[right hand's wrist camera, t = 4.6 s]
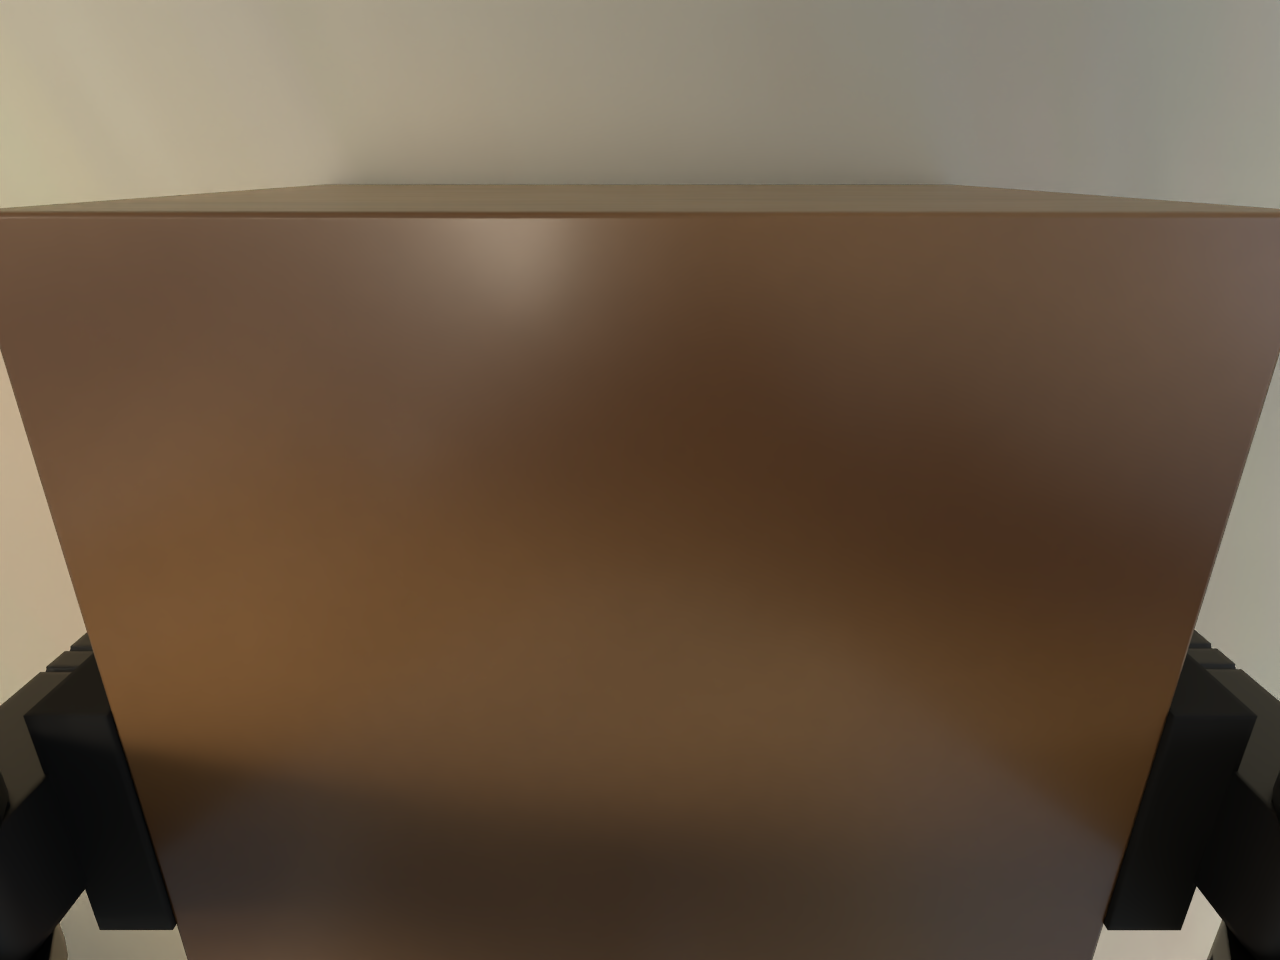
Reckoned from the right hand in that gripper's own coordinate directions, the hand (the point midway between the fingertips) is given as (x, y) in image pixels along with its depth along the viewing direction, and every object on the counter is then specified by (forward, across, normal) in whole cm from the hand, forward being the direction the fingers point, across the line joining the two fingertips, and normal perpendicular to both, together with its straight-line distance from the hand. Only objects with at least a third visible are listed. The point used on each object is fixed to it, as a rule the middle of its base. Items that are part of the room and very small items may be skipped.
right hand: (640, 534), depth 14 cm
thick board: (+1, 0, -23) cm, 23 cm away
